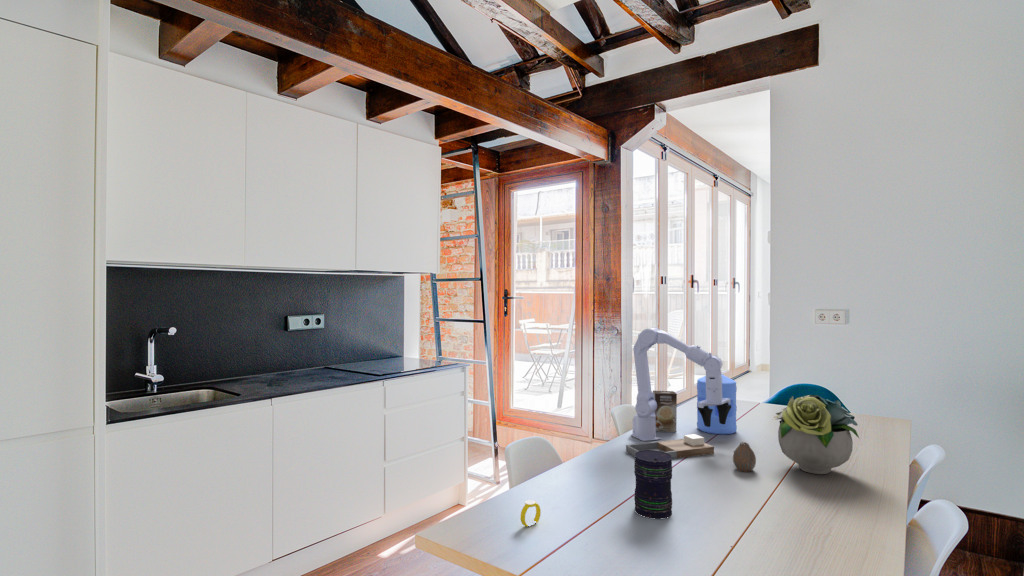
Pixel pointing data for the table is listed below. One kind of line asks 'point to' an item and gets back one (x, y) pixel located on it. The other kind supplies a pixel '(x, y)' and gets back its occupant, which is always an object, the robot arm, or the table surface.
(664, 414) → the coffee box
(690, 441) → the white square block
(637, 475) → the storage jar
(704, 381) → the water jug
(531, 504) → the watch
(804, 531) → the table surface
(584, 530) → the table surface
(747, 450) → the brown oval piece
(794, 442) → the flower arrangement
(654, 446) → the box
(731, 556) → the table surface
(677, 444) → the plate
